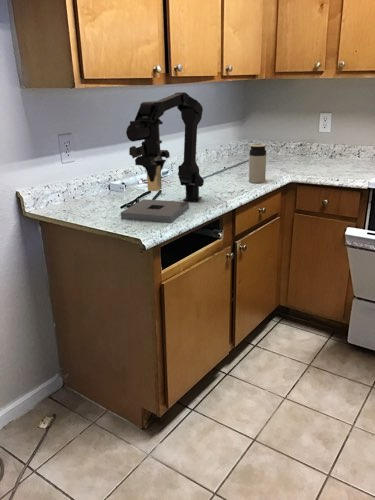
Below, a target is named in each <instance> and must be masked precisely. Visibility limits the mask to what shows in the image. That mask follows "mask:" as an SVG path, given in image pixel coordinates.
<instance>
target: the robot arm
mask: <svg viewBox="0 0 375 500" xmlns="http://www.w3.org/2000/svg"><path fill="white" fill-rule="evenodd" d="M173 108H176V109H177V110H178V111H179V112H180V117H181V119H182V122H183V124H184V139H183V140H184V142H183V143H184V144H183V145H184V146H183V162H182V163H181V164H179V165H178V168H177V169H178V172H177V176H178V180H179V183H180V185H181V186H185V188H184V189H185V197H184V198H183V199H182V202H199V201H200V200H201V199H202V198H203V197H202V196H200V188H202V187H203V186H204V184H205V183H204V182H205V180H204V179H203V177H202V176H201V174H200V168H199V165H198V164H197V160H196V158H197V142H198V141H197V139H198V138H197V137H198V126H199V124H200V121H201V120H202V118H203V111H204V108H203V105H202V104H201V103H200V102H199V101H198V100H197V99H195V98H194V97H191V96H190V95H189V94H188V93H187V92H182V91H181V92H179V91H178V92H175V93H174V94H171V95H169V96H166V97H163V98H161V99H159V100H151V101H143V102H141V103H140V104H139V108H138V111H137V113H136V115H135V118H134V120H130V121H129V124H128V126H127V128H126V132H125V134H126V137H127V139H128V140H129V141H131V142H138V141H142V142H141V145H140V146H139V147H138V146H135V145H132V146H130V147H129V150H128V151H129V152H128V154H129V156H131V157H132V159H134V164H135V166H141V167H143V168H144V169H145V171H146V175H147V174H148V176H149V179H150V181H151V182H153V181H154V178H155V174H156V169H157V165H161V171H162V170H163V167H164V165H165V162H166V161H167V159H169V158H171V157H170V156H171V155H170V152H169V150H167V149H161V144H162V143H163V140H161V138H160V137H161V136H160V135H161V134H160V125H163V123H164V122H163V121H162V120H161V119H160V118H161V117H162V116H163V115H165V112H166V111H168V110H170V109H173ZM163 158H165V159H163Z"/></svg>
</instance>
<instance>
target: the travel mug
mask: <svg viewBox="0 0 375 500" xmlns="http://www.w3.org/2000/svg"><path fill="white" fill-rule="evenodd" d="M266 145H267V144H266V143H252V144H250V145H249V146H250V150H249V157H248V160H249V161H248V162H249V163H248V182H249V183H252V184H262V183H263V184H264V183H265V182H266V174H267V173H266V171H267V170H266V169H267V167H266V166H267V150H266Z"/></svg>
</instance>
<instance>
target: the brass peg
mask: <svg viewBox="0 0 375 500" xmlns="http://www.w3.org/2000/svg"><path fill="white" fill-rule="evenodd" d="M161 172H162V170H161V165H157V169H156V174H155V178H154V181H153V182H151V181H150V179H149V176H148V174H147V173H146V179H147V180H146V183H147V184H146V185H147V191H148V192H149V191H150V192H159V191H160V190H162V173H161Z"/></svg>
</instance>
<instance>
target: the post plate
mask: <svg viewBox="0 0 375 500" xmlns="http://www.w3.org/2000/svg"><path fill="white" fill-rule="evenodd" d="M189 208H190V201H178V200H176V201H175V200H161V199H159V200H158V199H145V198H143V199H141V200H140V201H138V202H136V203H134V204H132V205H131V206H130V207H127V208H125V209H124V210H122V211H121V212H120V219H121V220H129V221H130V220H131V221H141V222H144V221H145V222H155V223H167V224H168V223H169V224H172V223H173V222H174V221H175V220H176V219H177V218H179V217H180V216H181V215H183V214H184V213H185V212H186V211H187V210H188V209H189ZM172 221H173V222H172Z"/></svg>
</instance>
